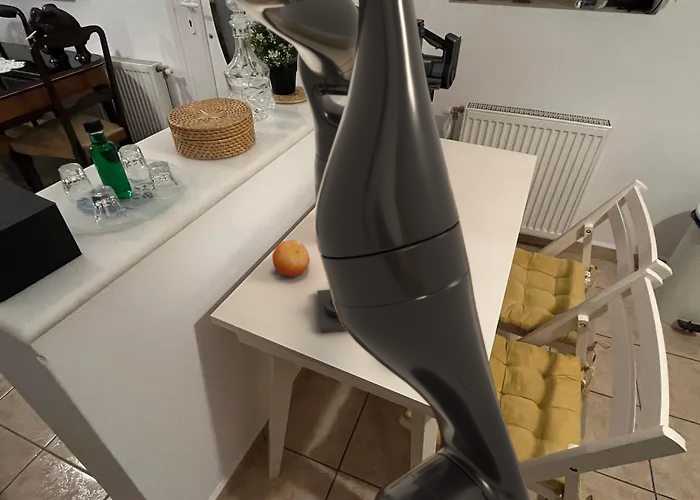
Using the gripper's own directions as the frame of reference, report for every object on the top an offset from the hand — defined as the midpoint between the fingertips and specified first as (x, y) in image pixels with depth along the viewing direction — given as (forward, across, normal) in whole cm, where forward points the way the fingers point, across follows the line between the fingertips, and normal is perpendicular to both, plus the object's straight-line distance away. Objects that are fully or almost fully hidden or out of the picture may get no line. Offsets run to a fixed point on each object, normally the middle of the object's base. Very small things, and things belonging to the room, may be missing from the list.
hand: (339, 258), depth 76 cm
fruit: (+14, -13, -9) cm, 21 cm away
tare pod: (+14, 0, 0) cm, 14 cm away
